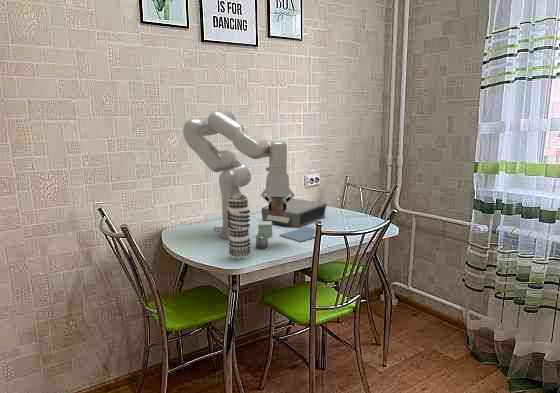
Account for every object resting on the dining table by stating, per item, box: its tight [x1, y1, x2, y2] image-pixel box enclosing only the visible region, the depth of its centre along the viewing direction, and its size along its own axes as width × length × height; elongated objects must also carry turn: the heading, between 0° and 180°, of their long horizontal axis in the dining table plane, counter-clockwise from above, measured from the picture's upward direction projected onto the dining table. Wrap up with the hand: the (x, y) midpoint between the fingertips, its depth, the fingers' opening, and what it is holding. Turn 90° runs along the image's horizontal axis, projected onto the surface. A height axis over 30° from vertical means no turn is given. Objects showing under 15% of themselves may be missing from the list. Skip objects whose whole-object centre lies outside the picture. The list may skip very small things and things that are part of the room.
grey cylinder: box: [255, 234, 269, 250], centre depth 178 cm, size 5×5×5 cm
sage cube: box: [257, 220, 273, 238], centre depth 196 cm, size 6×6×6 cm
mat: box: [279, 226, 316, 243], centre depth 195 cm, size 18×14×1 cm
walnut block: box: [271, 197, 284, 216], centre depth 182 cm, size 5×5×8 cm
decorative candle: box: [227, 193, 251, 260], centre depth 167 cm, size 9×9×25 cm
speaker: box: [260, 198, 327, 229], centre depth 223 cm, size 24×8×30 cm
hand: (277, 211), depth 183 cm, fingers closed on walnut block, 5 cm apart
